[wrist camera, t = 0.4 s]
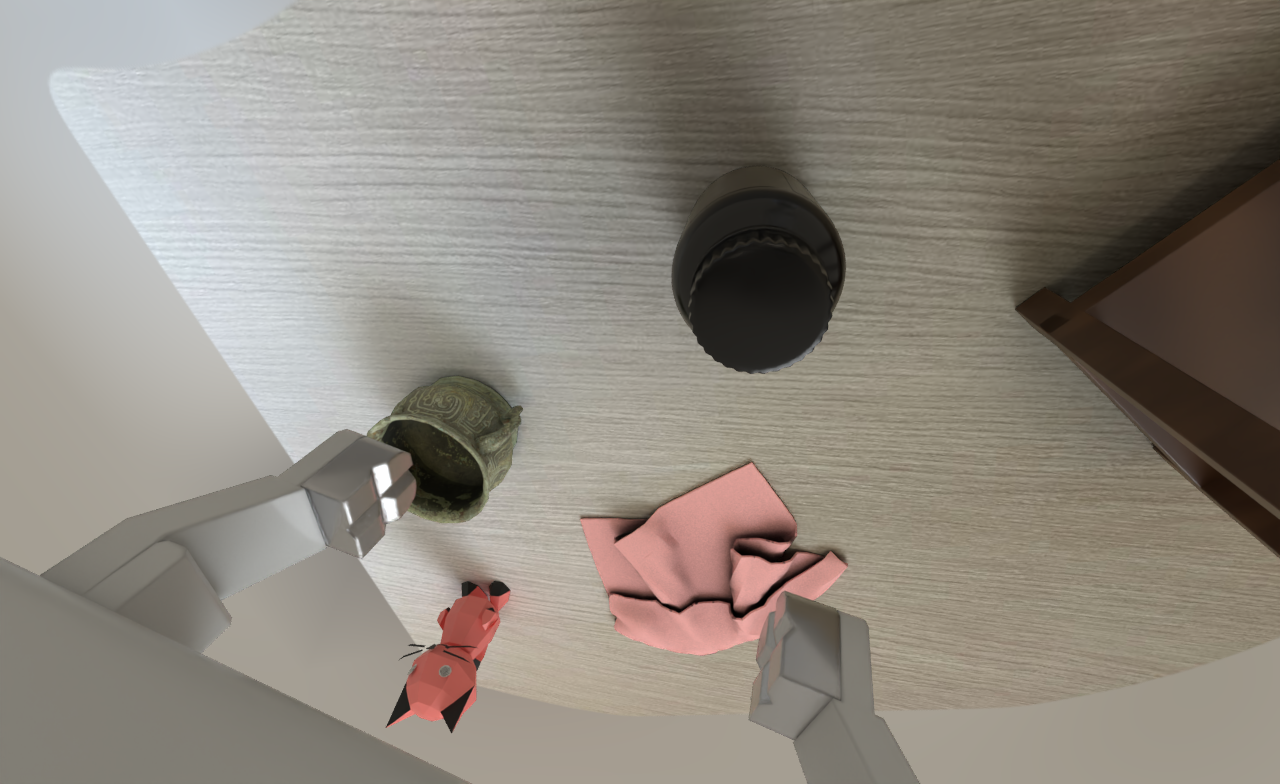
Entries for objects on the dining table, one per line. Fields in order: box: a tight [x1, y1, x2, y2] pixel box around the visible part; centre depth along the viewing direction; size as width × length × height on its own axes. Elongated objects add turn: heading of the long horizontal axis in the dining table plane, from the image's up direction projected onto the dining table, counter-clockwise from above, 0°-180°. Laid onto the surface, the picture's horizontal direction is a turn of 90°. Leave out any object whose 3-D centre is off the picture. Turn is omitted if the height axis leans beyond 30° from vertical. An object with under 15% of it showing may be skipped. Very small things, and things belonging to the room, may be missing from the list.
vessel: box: [367, 376, 523, 523], centre depth 34 cm, size 12×9×6 cm
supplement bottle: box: [672, 166, 846, 374], centre depth 22 cm, size 7×7×12 cm
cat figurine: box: [386, 581, 510, 733], centre depth 42 cm, size 7×7×12 cm
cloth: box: [580, 462, 848, 656], centre depth 39 cm, size 20×22×2 cm
